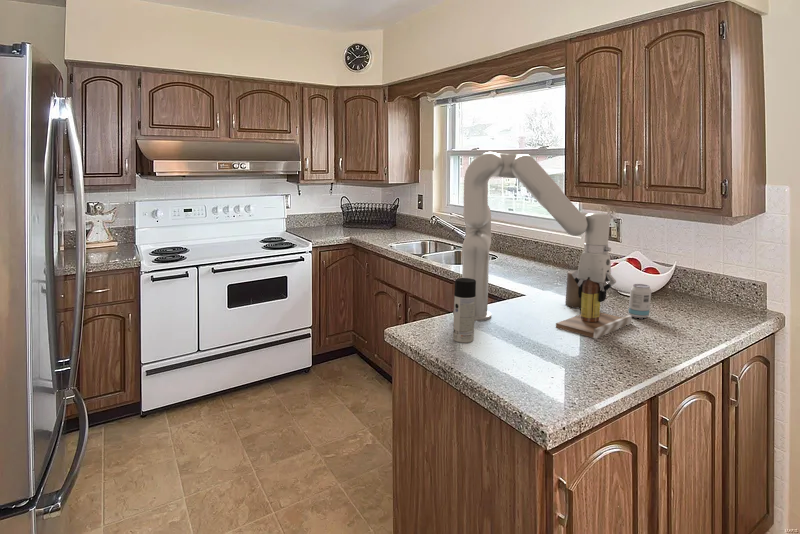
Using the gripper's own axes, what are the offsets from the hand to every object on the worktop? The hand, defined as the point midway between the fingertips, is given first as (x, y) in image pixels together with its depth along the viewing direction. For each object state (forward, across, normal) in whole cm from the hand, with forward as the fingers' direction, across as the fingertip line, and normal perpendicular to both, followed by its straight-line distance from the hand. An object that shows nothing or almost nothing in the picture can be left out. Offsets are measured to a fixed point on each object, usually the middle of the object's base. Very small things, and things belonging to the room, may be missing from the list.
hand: (591, 298), depth 175 cm
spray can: (+10, +18, +46) cm, 50 cm away
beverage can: (+10, -7, -22) cm, 25 cm away
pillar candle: (+10, +16, -19) cm, 27 cm away
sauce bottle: (+8, 0, 0) cm, 8 cm away
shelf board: (+9, -1, 0) cm, 9 cm away
